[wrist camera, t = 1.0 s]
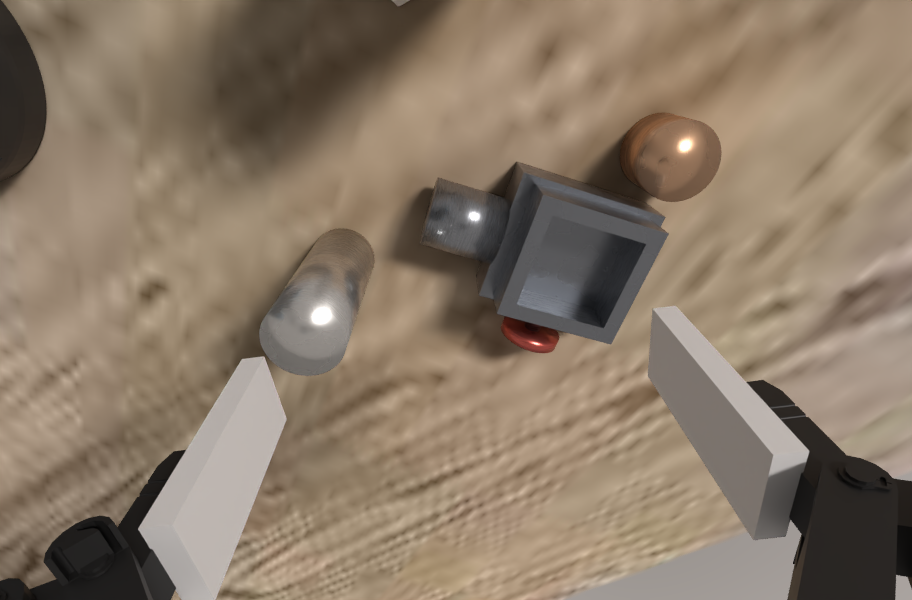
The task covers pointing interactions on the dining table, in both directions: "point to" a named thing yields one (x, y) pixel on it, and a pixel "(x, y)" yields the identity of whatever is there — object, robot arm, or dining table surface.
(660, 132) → the glossy bronze sphere
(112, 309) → the dining table surface
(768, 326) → the dining table surface
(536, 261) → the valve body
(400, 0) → the milk carton
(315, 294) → the silver rounded cylinder
